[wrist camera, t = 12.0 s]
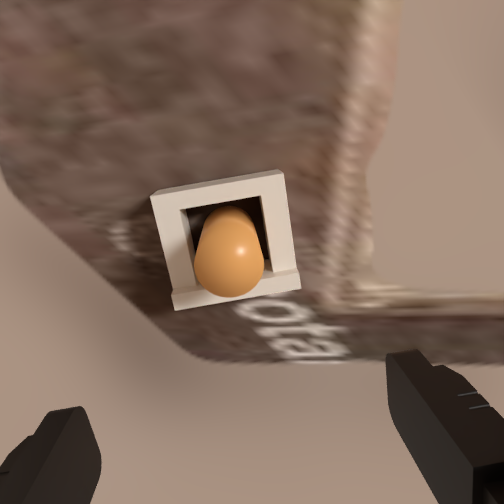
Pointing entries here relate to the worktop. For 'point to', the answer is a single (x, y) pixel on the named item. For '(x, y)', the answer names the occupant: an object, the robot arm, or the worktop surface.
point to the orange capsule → (228, 253)
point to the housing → (179, 198)
